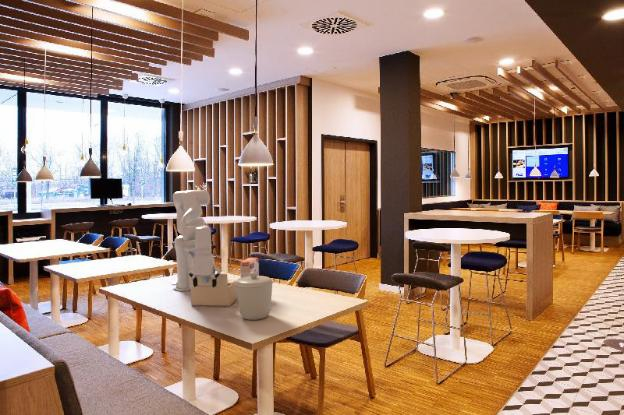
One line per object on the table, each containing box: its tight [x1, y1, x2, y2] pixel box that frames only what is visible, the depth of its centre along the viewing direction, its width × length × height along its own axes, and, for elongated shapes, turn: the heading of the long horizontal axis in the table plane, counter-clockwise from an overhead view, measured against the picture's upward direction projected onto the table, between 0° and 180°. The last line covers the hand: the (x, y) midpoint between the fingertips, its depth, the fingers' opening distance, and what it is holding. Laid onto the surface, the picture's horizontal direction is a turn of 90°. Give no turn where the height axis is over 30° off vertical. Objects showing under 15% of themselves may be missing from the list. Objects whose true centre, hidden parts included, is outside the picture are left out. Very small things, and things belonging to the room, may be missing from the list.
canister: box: [234, 272, 275, 321], centre depth 207 cm, size 18×18×21 cm
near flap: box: [190, 273, 229, 286], centre depth 224 cm, size 19×6×6 cm
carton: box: [190, 279, 238, 308], centre depth 233 cm, size 20×13×11 cm, turn 80°
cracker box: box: [239, 257, 260, 278], centre depth 241 cm, size 14×6×21 cm, turn 168°
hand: (204, 286), depth 221 cm, fingers open, 9 cm apart
